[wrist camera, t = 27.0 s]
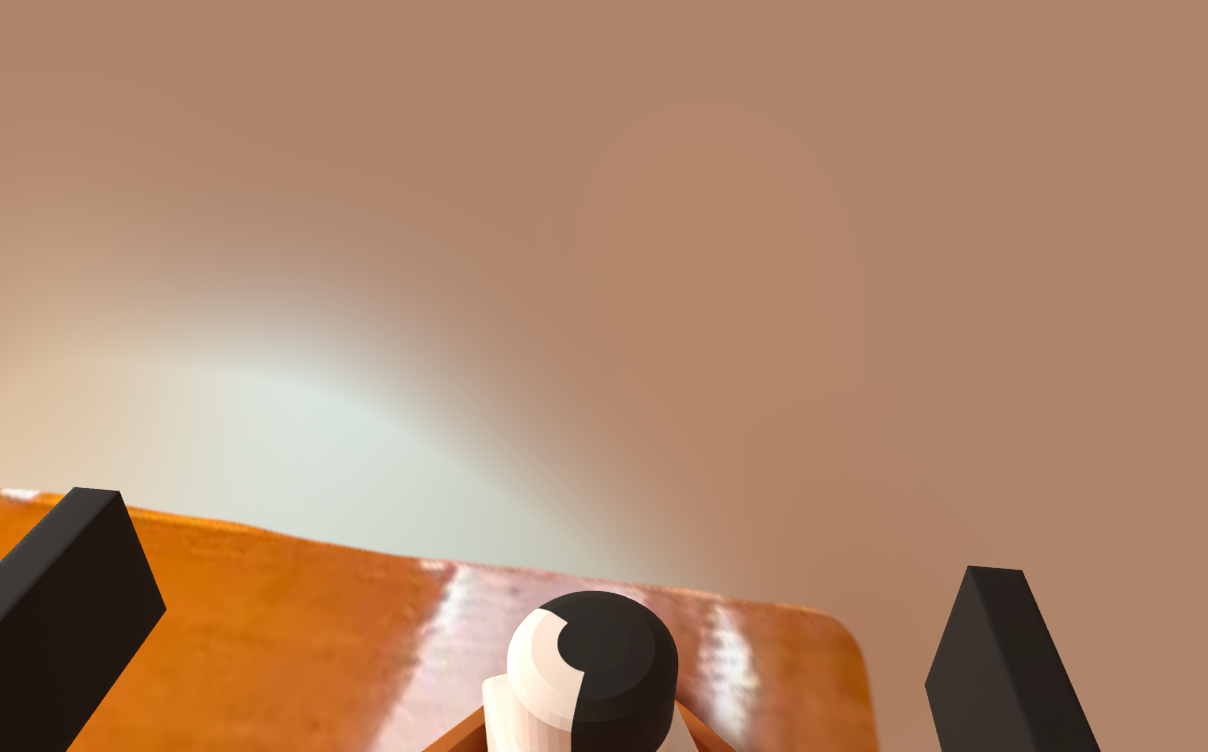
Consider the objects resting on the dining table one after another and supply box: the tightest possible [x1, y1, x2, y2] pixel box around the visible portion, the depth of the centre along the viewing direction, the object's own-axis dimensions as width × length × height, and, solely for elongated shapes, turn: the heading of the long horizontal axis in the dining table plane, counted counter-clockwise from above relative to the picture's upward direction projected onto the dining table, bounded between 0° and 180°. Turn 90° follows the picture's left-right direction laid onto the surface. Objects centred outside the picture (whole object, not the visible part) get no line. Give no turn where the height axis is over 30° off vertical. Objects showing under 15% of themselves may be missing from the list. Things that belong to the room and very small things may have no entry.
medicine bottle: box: [482, 591, 699, 752], centre depth 32 cm, size 7×7×12 cm
